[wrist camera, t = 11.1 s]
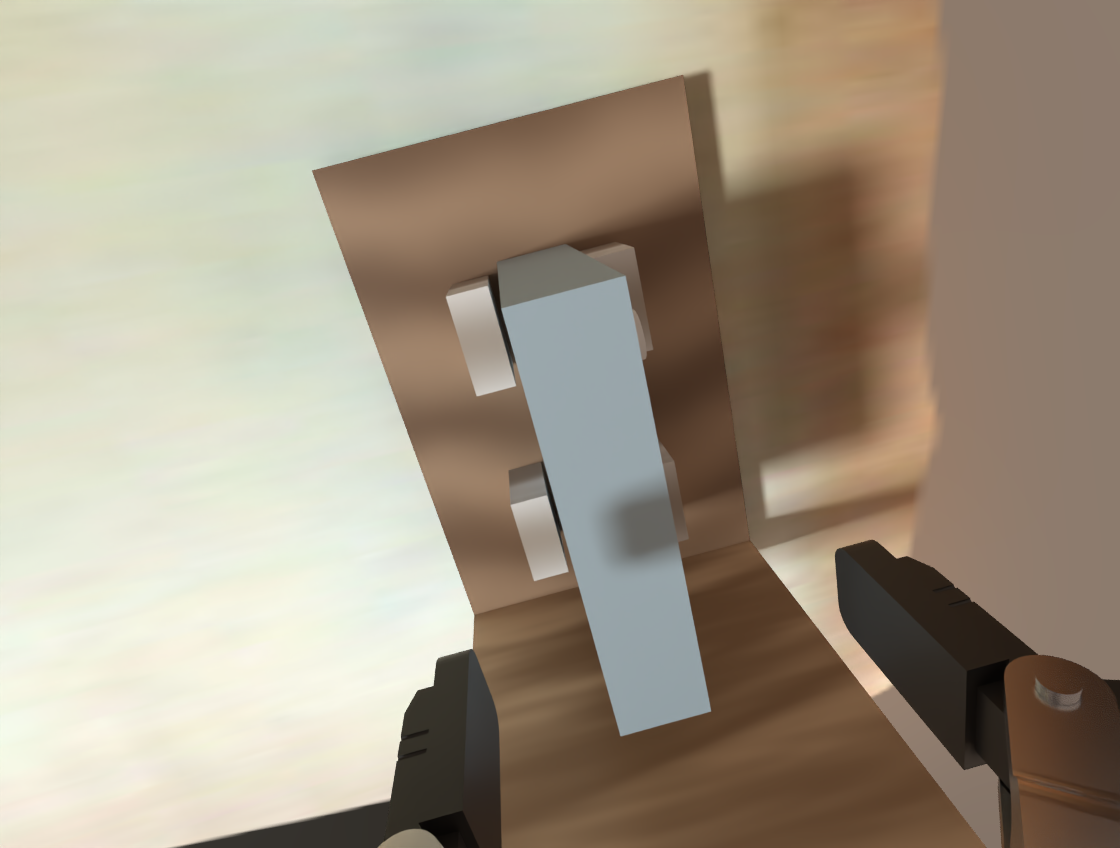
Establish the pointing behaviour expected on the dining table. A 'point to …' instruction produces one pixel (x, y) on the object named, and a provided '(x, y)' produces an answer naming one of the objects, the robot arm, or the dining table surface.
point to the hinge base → (532, 517)
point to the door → (606, 477)
